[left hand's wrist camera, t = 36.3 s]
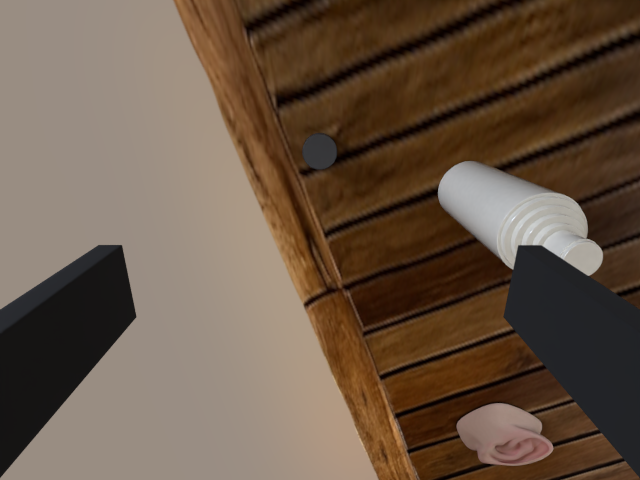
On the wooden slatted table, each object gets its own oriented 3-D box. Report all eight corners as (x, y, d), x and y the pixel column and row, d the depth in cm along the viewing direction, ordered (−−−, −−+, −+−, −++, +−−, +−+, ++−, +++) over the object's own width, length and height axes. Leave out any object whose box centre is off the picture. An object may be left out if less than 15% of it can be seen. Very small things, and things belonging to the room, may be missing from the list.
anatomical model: (452, 452, 58) (507, 408, 55) (444, 431, 62) (495, 388, 59) (509, 488, 61) (565, 448, 58) (498, 466, 65) (550, 427, 62)
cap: (343, 148, 46) (344, 150, 44) (321, 173, 47) (321, 176, 45) (318, 125, 45) (318, 126, 43) (296, 151, 46) (295, 153, 44)
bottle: (430, 211, 49) (514, 296, 28) (448, 155, 46) (556, 201, 25) (484, 222, 49) (606, 313, 28) (505, 167, 47) (656, 222, 26)
